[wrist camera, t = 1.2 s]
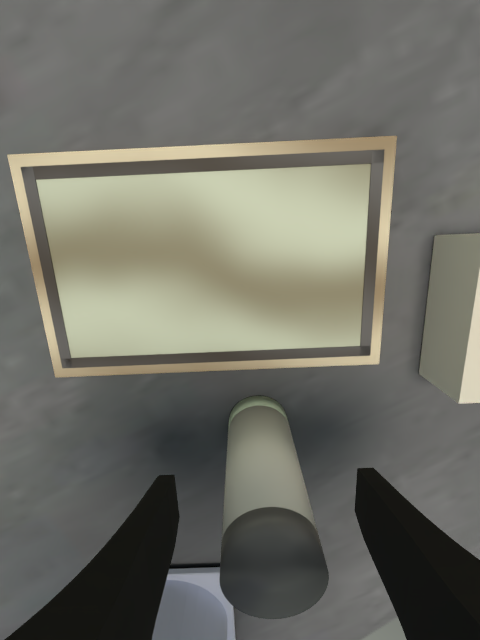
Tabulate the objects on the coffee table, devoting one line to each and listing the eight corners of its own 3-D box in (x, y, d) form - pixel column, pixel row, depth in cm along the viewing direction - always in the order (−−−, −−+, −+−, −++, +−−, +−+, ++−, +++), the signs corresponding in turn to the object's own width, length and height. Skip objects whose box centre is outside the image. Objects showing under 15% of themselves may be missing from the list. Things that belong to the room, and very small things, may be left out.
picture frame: (372, 357, 16) (379, 364, 15) (64, 370, 16) (54, 378, 15) (387, 141, 13) (397, 134, 12) (20, 159, 13) (5, 154, 12)
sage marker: (287, 445, 17) (326, 616, 9) (230, 448, 17) (222, 620, 9) (286, 394, 16) (330, 535, 8) (227, 396, 16) (216, 539, 9)
